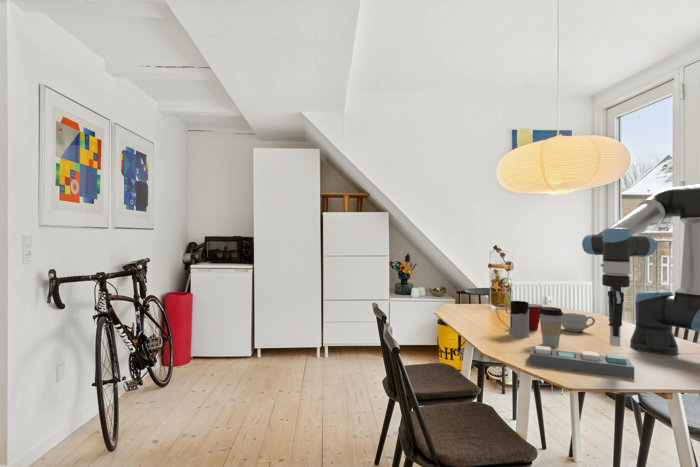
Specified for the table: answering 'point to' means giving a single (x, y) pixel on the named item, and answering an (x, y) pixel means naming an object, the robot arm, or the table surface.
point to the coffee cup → (550, 325)
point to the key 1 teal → (615, 358)
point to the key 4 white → (543, 350)
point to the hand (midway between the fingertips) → (614, 345)
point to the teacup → (575, 322)
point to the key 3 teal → (566, 355)
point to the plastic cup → (534, 316)
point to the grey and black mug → (518, 319)
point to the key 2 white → (590, 355)
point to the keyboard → (581, 363)
